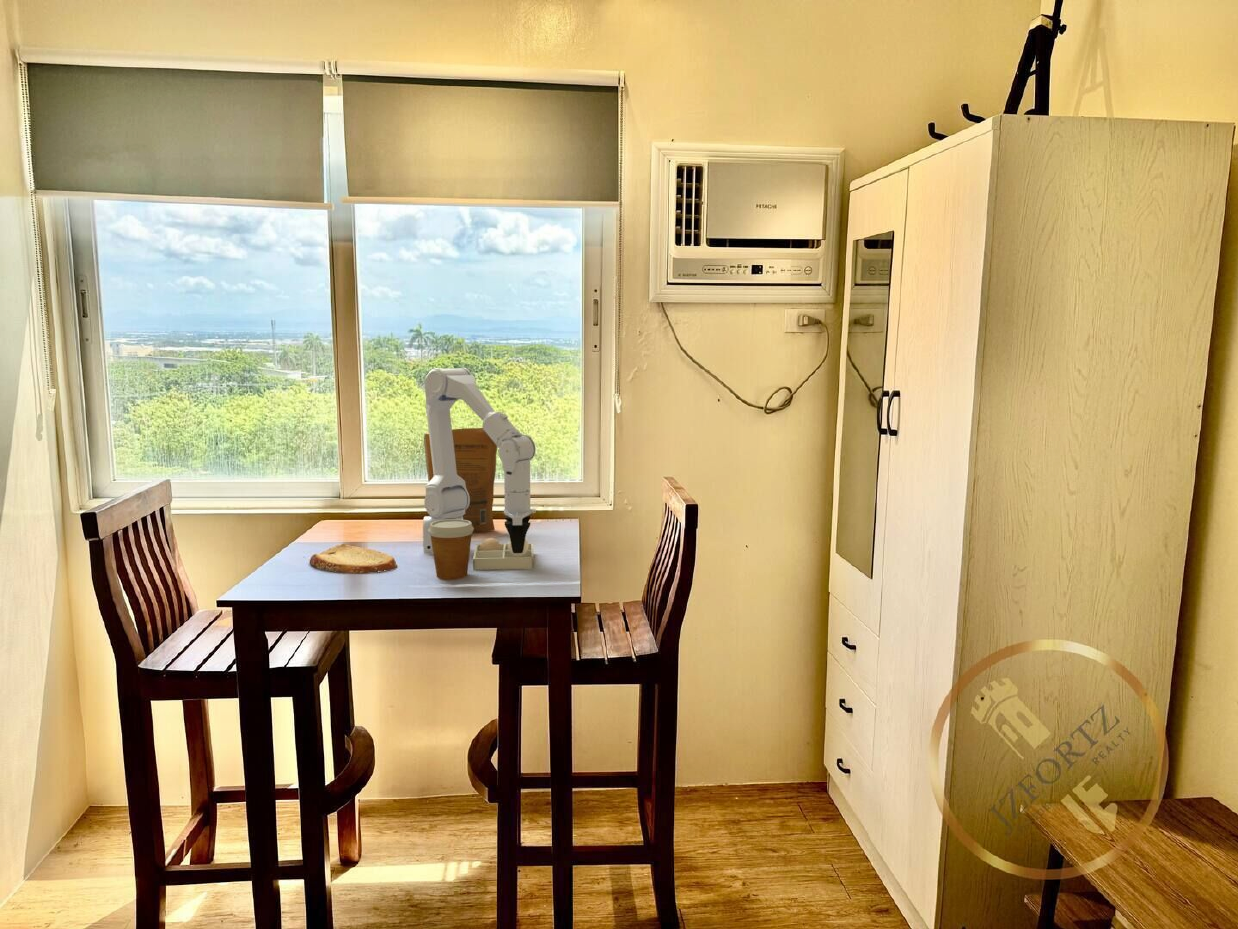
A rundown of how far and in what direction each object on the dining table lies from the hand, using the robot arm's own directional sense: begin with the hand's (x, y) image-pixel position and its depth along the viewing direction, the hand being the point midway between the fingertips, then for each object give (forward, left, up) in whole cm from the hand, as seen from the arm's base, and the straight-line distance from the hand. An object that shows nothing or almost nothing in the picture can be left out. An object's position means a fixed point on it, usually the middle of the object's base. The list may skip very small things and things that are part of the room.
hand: (517, 550), depth 180 cm
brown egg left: (-6, +6, -3) cm, 10 cm away
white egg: (0, 0, -1) cm, 1 cm away
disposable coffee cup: (-14, -8, -4) cm, 16 cm away
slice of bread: (-37, +6, -4) cm, 38 cm away
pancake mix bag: (-15, +37, -4) cm, 40 cm away
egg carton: (-3, +3, -4) cm, 6 cm away
